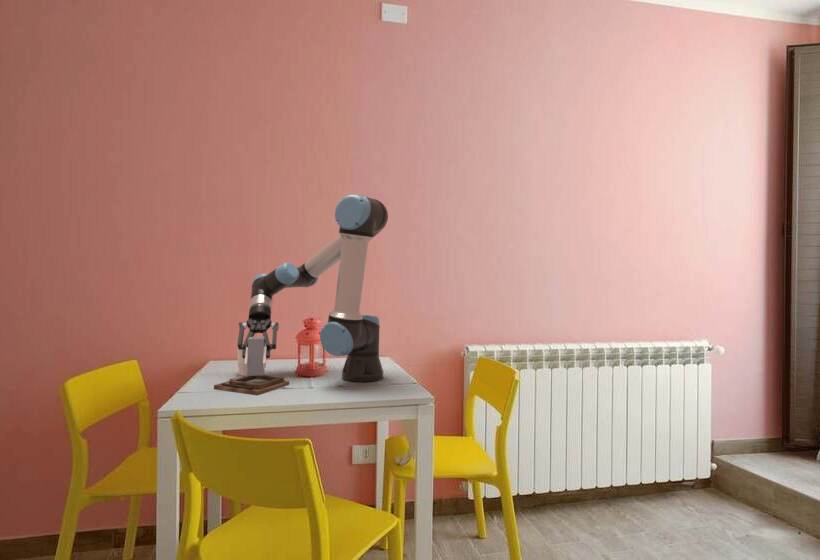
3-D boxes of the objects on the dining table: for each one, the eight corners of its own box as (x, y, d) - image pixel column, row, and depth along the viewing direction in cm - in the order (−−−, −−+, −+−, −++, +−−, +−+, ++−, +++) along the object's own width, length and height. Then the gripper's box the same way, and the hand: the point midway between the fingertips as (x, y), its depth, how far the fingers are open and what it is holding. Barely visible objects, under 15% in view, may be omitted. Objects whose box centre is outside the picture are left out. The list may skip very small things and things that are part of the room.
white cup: (246, 371, 194) (246, 345, 194) (263, 373, 191) (263, 346, 191) (232, 375, 187) (232, 348, 186) (250, 377, 184) (250, 349, 184)
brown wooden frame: (289, 384, 173) (289, 376, 173) (257, 395, 158) (257, 386, 158) (247, 379, 180) (247, 371, 180) (213, 388, 166) (213, 380, 165)
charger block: (264, 372, 172) (265, 336, 171) (263, 375, 167) (263, 339, 166) (249, 372, 171) (249, 336, 170) (247, 375, 166) (247, 339, 165)
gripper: (286, 317, 185) (283, 371, 169) (234, 317, 181) (227, 372, 166) (286, 303, 180) (283, 358, 164) (232, 303, 176) (224, 359, 160)
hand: (255, 365), depth 165 cm, fingers closed on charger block, 5 cm apart
